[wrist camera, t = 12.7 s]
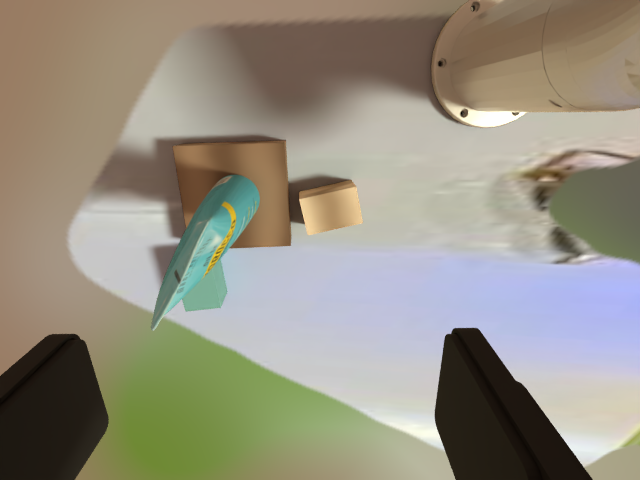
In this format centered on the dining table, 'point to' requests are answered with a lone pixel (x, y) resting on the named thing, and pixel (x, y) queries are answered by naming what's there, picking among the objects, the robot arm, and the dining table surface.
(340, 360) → the dining table surface
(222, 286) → the teal block
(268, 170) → the plinth
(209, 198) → the tube
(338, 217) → the beech block
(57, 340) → the robot arm
